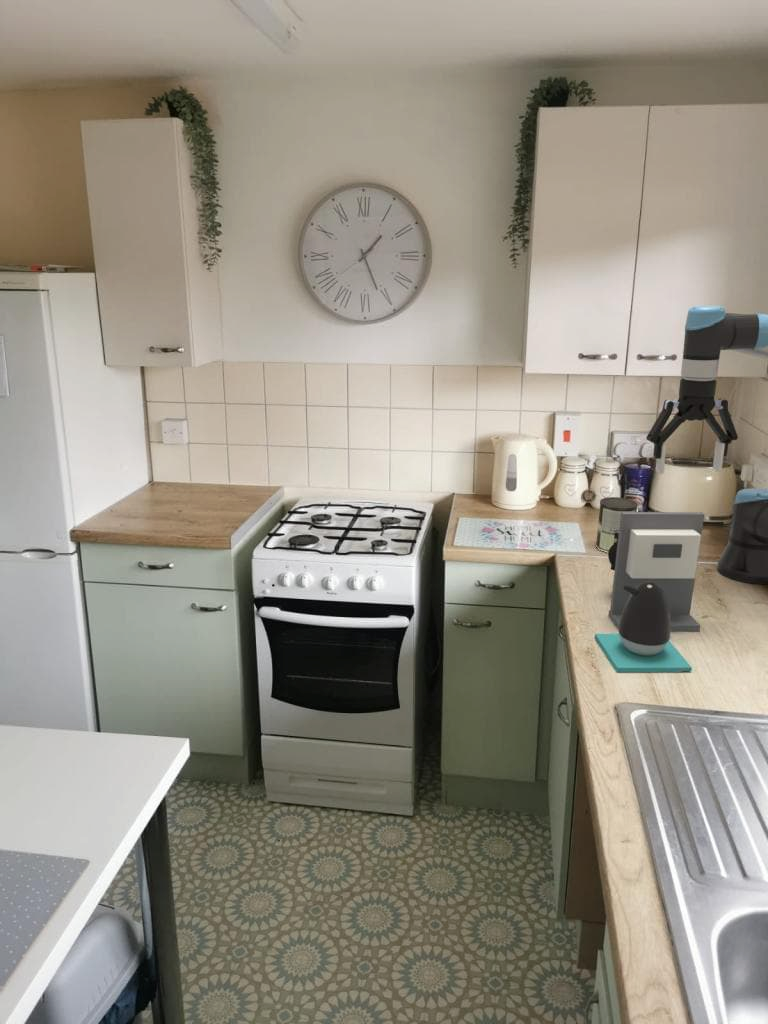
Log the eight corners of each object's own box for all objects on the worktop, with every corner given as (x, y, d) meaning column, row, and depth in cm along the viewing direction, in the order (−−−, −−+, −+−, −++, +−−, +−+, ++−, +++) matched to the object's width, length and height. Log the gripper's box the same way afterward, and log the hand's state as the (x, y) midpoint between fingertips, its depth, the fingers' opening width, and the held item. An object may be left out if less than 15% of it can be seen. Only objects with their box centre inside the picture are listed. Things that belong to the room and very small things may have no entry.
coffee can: (588, 544, 224) (593, 498, 219) (618, 541, 227) (623, 495, 223) (608, 556, 214) (614, 508, 210) (639, 553, 218) (645, 505, 213)
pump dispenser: (609, 637, 164) (617, 572, 159) (658, 639, 163) (667, 573, 159) (622, 660, 154) (630, 591, 150) (674, 662, 154) (684, 592, 149)
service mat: (662, 637, 166) (663, 633, 166) (691, 672, 152) (691, 667, 152) (594, 637, 166) (595, 633, 166) (616, 672, 152) (617, 667, 151)
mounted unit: (684, 616, 177) (700, 511, 170) (699, 631, 170) (716, 522, 162) (608, 616, 177) (620, 511, 169) (619, 631, 169) (632, 522, 161)
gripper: (744, 374, 173) (732, 465, 180) (637, 377, 172) (629, 468, 178) (762, 379, 166) (749, 473, 172) (650, 381, 164) (641, 477, 171)
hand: (688, 471), depth 175 cm, fingers open, 13 cm apart
